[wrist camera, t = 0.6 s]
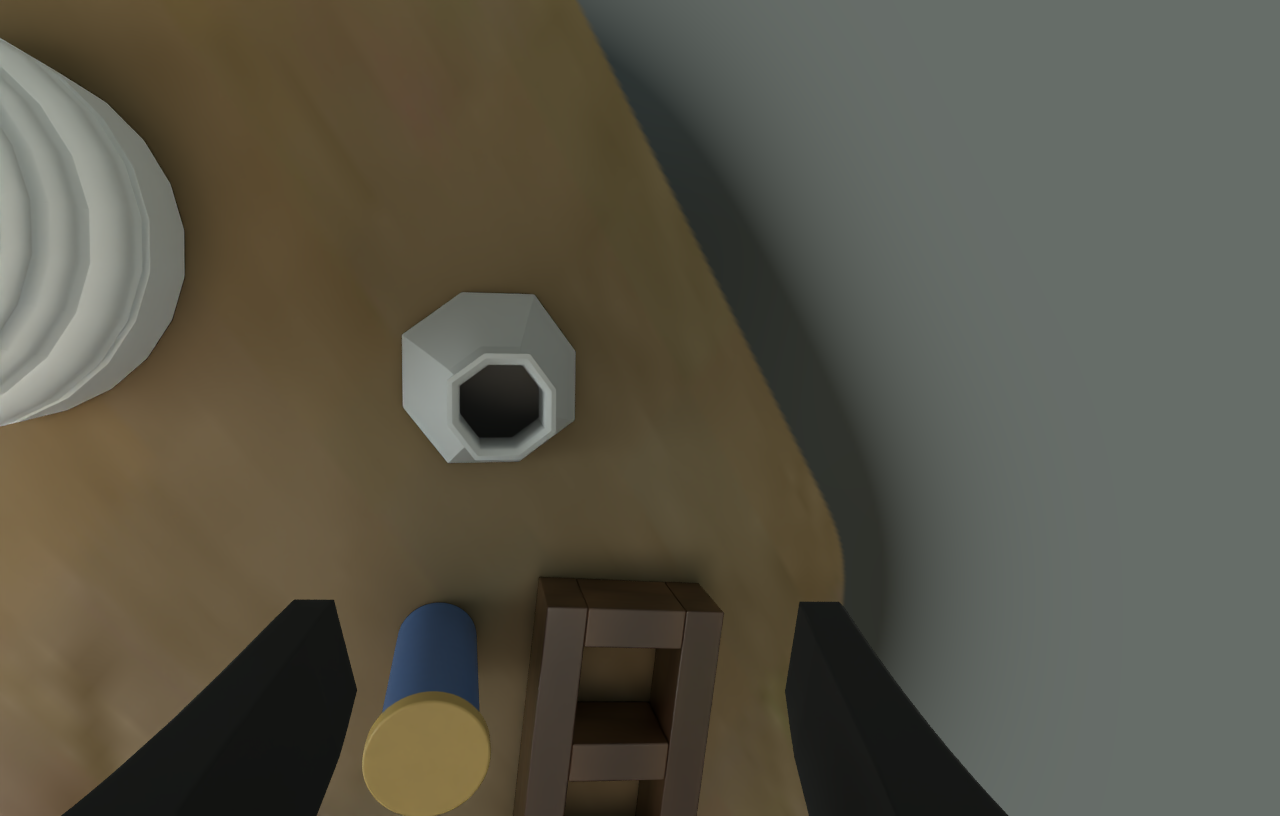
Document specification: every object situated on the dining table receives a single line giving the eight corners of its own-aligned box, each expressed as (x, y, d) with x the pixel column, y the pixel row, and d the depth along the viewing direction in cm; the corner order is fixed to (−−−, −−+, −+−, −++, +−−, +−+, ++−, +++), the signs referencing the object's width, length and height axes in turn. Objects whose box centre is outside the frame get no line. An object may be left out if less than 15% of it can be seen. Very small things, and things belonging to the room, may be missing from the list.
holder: (495, 971, 34) (498, 1042, 31) (538, 576, 33) (547, 606, 29) (649, 959, 36) (668, 1026, 33) (698, 582, 34) (724, 612, 31)
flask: (600, 432, 33) (657, 482, 23) (433, 489, 31) (420, 568, 22) (547, 266, 31) (585, 245, 22) (371, 319, 30) (327, 322, 20)
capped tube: (464, 692, 33) (463, 830, 24) (376, 667, 32) (342, 802, 23) (497, 610, 32) (509, 719, 24) (410, 583, 31) (389, 686, 23)
